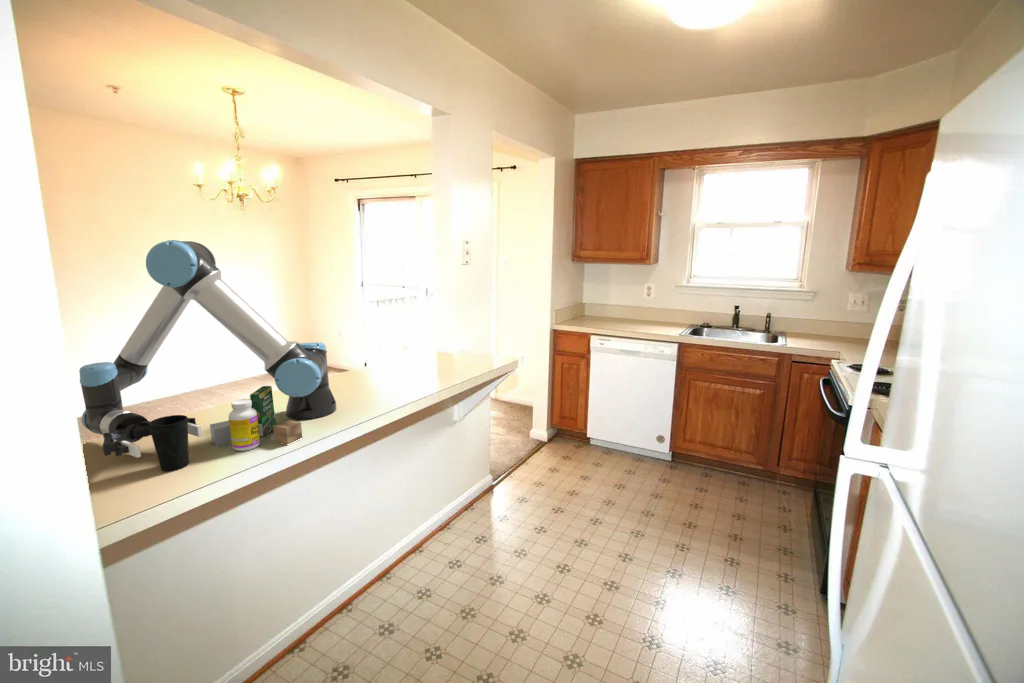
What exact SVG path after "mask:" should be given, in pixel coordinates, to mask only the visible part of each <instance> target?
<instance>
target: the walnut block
mask: <svg viewBox="0 0 1024 683" xmlns="http://www.w3.org/2000/svg"><path fill="white" fill-rule="evenodd" d="M272 431H273V440H274V443H275V442H276V443H275V444H279V443H283V444H282V445H284V444H290V443H292V442H294V441H296V440H298V439H300V438H302V439H303V431H302V421H297V420H290V419H287V420H284V421H281V422H279V423H276V425H274V426H273V430H272ZM298 441H299V440H298ZM296 442H297V441H296ZM294 443H295V442H294ZM292 444H293V443H292ZM290 445H291V444H290Z"/></svg>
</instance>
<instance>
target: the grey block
mask: <svg viewBox="0 0 1024 683" xmlns="http://www.w3.org/2000/svg"><path fill="white" fill-rule="evenodd" d="M209 429H210V438H211V442H212V444H213V445H214V444H215V445H214V446H215V447H219V446H220V445H221V446H224V445H229V444H232V441H231V433H230V424H229V419H228V420H224V421H220V422H216V423H215V422H214V423H210V424H209Z"/></svg>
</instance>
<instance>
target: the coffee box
mask: <svg viewBox="0 0 1024 683" xmlns="http://www.w3.org/2000/svg"><path fill="white" fill-rule="evenodd" d="M249 399H250V400H251V401H252V406H251V408H253V409H255V410H256V411H257V418H258V427H259V436H260V438H265V437H266V436H267V435H268V434H269V433H271V432H272V431H273V426H274V425H276V424H277V423H276V416H275V415H276V413H275V407H274V398H273V388H272V385H262V386H261V387H259V388H258V389H256V390H255V391H254V392H252V393H250V394H249Z"/></svg>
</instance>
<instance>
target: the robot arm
mask: <svg viewBox="0 0 1024 683" xmlns="http://www.w3.org/2000/svg"><path fill="white" fill-rule="evenodd" d="M215 258H216V257H215V256H214V254H213V252H212V251H211V250H210V249H209V248H208V247H206V245H204V244H201V243H200V242H195V241H190V240H189V241H188V240H185V241H184V240H177V239H176V240H175V239H171V240H170V239H169V240H166V241H161V242H158V243H157V244H155V245H153V246H152V247H151V248H150V249H149V251H148V252H147V255H146V258H145V268H146V271H147V273H148V275H149V276H150V278H152V280H154V281H155V283H158V284H159V285H161V289H160V290H159V291H158V293H157V295H156V296H155V298H154V300H153V301H152V303H151V304H150V305H149V307H148V309H147V310H146V311H145V313H144V315H143V316H142V318H141V320H140V321H139V323H138V324H137V325H136V327H135V329H134V330H133V332H132V333H131V335H130V336H129V338H128V339H127V341H126V343H125V345H124V346H123V348H122V349H121V350H120V352H119V354H118V355H117V357H116V358H115V360H114V361H113V362H109V361H106V362H105V361H103V362H94V363H90V364H85V365H82V366H81V367H80V368H79V383H80V387H81V392H82V397H83V401H84V406H85V410H84V412H83V413H82V415H81V419H80V420H81V424H82V425H83V426H84V428H86V429H87V430H89V431H90V432H92V433H94V434H98V435H102V436H103V443H102V450H103V455H104V456H110V455H112V453H114V455H115V457H120V456H122V455H125V454H126V455H129V456H132V457H134V458H140V457H142V455H141V454H142V453H141V449H140V445H138V444H136V443H135V442H138V441H140V440H142V439H143V438H145V437H150V436H152V435H151V432H150V428H149V423H150V422H151V421H152V420H151V421H149V420H148V419H147V417H145V416H143V415H142V414H139V413H135V412H133V411H129V410H124V408H123V402H122V394H121V391H123V390H125V389H127V388H129V387H131V386H133V385H135V384H138V383H139V382H140V381H142V380H143V379H144V378H145V376H147V374H148V366H149V365H150V363H151V361H152V360H153V358H154V356H155V355H156V353H157V352H158V351H159V350H160V348H161V346H162V345H163V343H164V341H165V340H166V338H167V337H168V335H169V334H170V333H171V331H172V329H173V328H174V326H175V325H176V323H177V322H178V319H180V317H181V315H182V314H183V312H184V311H185V310H186V308H187V306H188V305H189V303H190V302H191V301H192V300H193V301H195V302H196V303H197V304H199V305H200V307H202V308H203V309H204V310H205V311H206V312H208V313H209V314H210V315H211V316H212V317H213V318H215V320H216V321H218V322H219V324H221V325H222V326H223V327H224V328H225V329H227V330H228V331H229V332H230V333H231V334H232V335H233V336H234V337H235V338H237V339H238V340H239V341H240V342H241V343H242V344H244V345H245V346H246V347H247V348H248V349H249V350H250V351H251V352H253V354H255V355H256V356H257V357H258V358H259V359H260V360H261V361H262V362H264V371H266V373H268V375H270V376H271V377H272V378H273V379H274V384H275V385H276V387H277V389H278V390H279V391H280V392H281V393H282V394H284V395H286V396H288V399H287V400H288V401H287V404H286V416H287V417H288V418H289V419H290V418H291V419H293V420H309V418H311V419H316V417H318V418H322V417H325V415H326V416H328V415H331V414H333V413H334V412H336V410H337V402H336V399H335V397H334V395H333V392H332V390H331V388H330V382H329V371H328V370H329V369H328V360H327V359H328V358H327V353H328V351H327V347H326V345H325V343H324V342H298V341H289V340H287V339H286V338H285V337H284V336H283V335H282V334H281V333H280V332H279V331H278V330H276V328H274V326H272V325H271V324H270V322H268V321H267V320H266V319H265V318H264V317H262V316H261V315H260V314H259V313H258V311H256V310H255V309H254V308H253V307H252V306H250V305H249V304H248V303H247V302H246V301H245V300H244V298H242V297H241V296H240V295H239V294H238V293H237V292H236V291H234V290H233V288H231V287H230V286H229V285H228V284H227V283H226V282H225V281H224V280H223V279H222V271H221V270H220V269H219V268H218V267H217V266H216V265H217V264H216V263H217V262H216V259H215ZM330 413H331V414H330ZM321 416H322V417H321ZM187 418H188V435H192V436H195V437H197V438H200V437H202V435H203V434H202V433H203V432H202V427H201V425H198V424H197V423H196V418H195V417H187Z"/></svg>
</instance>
